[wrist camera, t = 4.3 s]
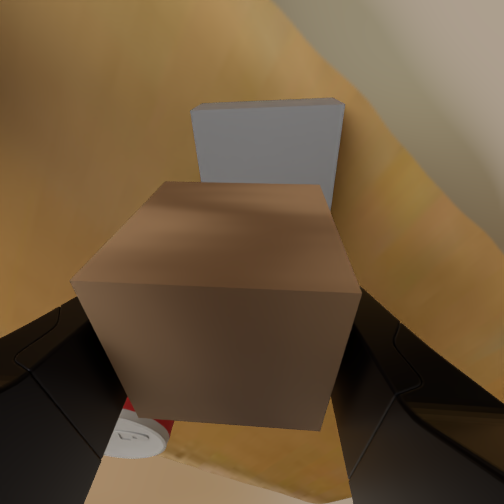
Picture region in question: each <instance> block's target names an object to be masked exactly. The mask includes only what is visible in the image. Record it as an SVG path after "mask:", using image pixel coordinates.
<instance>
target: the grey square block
mask: <svg viewBox="0 0 504 504" xmlns="http://www.w3.org/2000/svg"><path fill="white" fill-rule="evenodd" d="M344 109H345V104H344V103H342V102H340V101H338V100H336V99H334V98H315V99H291V100H268V101H245V102H221V103H202V104H200V105H199V106H197V107H195V108H194V109H192V110H190V113H191V119H192V125H193V132H194V138H195V145H196V151H197V158H198V164H199V171H200V177H201V182H216V183H264V184H313V185H320V187H321V189H322V192H323V194H324V197H325V199H326V202H327V205H328V207H329V210H330V211H331V204H332V196H333V189H334V182H335V174H336V167H337V160H338V152H339V145H340V138H341V130H342V123H343V116H344Z"/></svg>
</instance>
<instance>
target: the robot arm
mask: <svg viewBox="0 0 504 504" xmlns="http://www.w3.org/2000/svg"><path fill="white" fill-rule="evenodd" d="M359 287H360V289H361V292H362V296H361V299H360V302H359V305H358V309H357V312H356V315H355V318H354V322H353V325H352V328H351V331H350V335H349V338H348V341H347V344H346V348H345V351H344V354H343V357H342V361H341V364H340V367H339V371H338V374H337V377H336V380H335V384H334V387H333V390H332V393H331V399H332V404H333V408H334V413H335V418H336V423H337V427H338V432H339V437H340V442H341V446H342V451H343V456H344V461H345V465H346V470H347V475H348V479H350V480H349V485H350V489H351V494H352V499H353V504H504V403H502V402H501V401H499V400H498V399H497V398H495V397H494V396H493V395H492V394H490V393H489V392H488V391H486V390H485V389H484V388H482V387H481V386H480V385H478V384H477V383H476V382H474V381H473V380H472V379H470V378H469V377H468V376H466V375H465V374H464V373H463V372H461V371H460V370H459V369H457V368H456V367H455V366H453V365H452V364H451V363H449V362H448V361H447V360H446V359H444V358H443V357H442V356H440V355H439V354H438V353H437V352H435V351H434V350H433V349H432V348H430V347H429V346H428V345H427V344H425V343H424V342H423V341H422V340H421V339H420V338H418V337H417V336H416V335H415V334H414V333H413V332H411V331H410V330H409V329H408V328H407V327H406V326H405V325H403V324H402V323H400V321H399V320H398V319H397V318H395V317H394V316H393V315H392V314H391V313H390V312H389V311H388V310H386V309H385V308H384V307H383V306H382V305H381V304H380V303H379V302H377V301H376V300H375V299H374V298H373V297H372V296H371V295H370V294H368V293H367V292H366V291H365V290H364V289H363V288H362V287H361V286H359ZM127 397H128V396H127V394H126V392H125V390H124V388H123V386H122V384H121V382H120V380H119V378H118V376H117V374H116V372H115V370H114V368H113V366H112V364H111V362H110V360H109V358H108V356H107V354H106V352H105V350H104V348H103V346H102V344H101V342H100V340H99V338H98V336H97V334H96V332H95V330H94V328H93V326H92V324H91V322H90V320H89V318H88V317H87V315H86V313H85V311H84V309H83V307H82V305H81V303H80V301H79V299H78V297H75V298H73V299H71V300H70V301H68V302H66V303H64V304H63V305H61V307H57V308H55V309H54V310H52V311H50V312H49V313H47V314H45V315H43V316H41V317H40V318H38V319H36V320H34V321H32V322H31V323H29V324H27V325H25V326H23V327H21V328H19V329H17V330H15V331H13V332H11V333H10V334H8V335H6V336H4V337H2V338H0V504H84V502H85V499H86V497H87V494H88V492H89V490H90V487H91V485H92V482H93V480H94V478H95V475H96V472H97V470H98V467H99V465H100V463H101V458H102V457H103V455H104V453H105V450H106V448H107V445H108V443H109V440H110V438H111V436H112V433H113V431H114V428H115V426H116V423H117V421H118V418H119V416H120V414H121V411H122V409H123V406H124V404H125V401H126V399H127Z"/></svg>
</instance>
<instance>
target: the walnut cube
mask: <svg viewBox="0 0 504 504" xmlns="http://www.w3.org/2000/svg"><path fill="white" fill-rule="evenodd" d="M70 283H71V285H72V287H73V289H74V291H75V293H76V295H77V297H78V299H79V301H80V303H81V305H82V307H83V309H84V311H85V313H86V315H87V317H88V318H89V320H90V322H91V324H92V326H93V328H94V330H95V332H96V334H97V336H98V338H99V340H100V342H101V344H102V346H103V348H104V350H105V352H106V354H107V356H108V358H109V360H110V362H111V364H112V366H113V368H114V370H115V372H116V374H117V376H118V378H119V380H120V382H121V384H122V386H123V388H124V390H125V392H126V394H127V396H128V398H129V400H130V402H131V404H132V406H133V408H134V410H135V412H136V414H137V416H138V418H148V419H161V420H175V421H188V422H202V423H215V424H229V425H242V426H256V427H269V428H283V429H297V430H310V431H320V429H321V426H322V423H323V419H324V416H325V413H326V410H327V406H328V403H329V400H330V397H331V393H332V390H333V387H334V384H335V380H336V377H337V374H338V371H339V367H340V364H341V361H342V357H343V354H344V351H345V348H346V344H347V341H348V338H349V335H350V331H351V328H352V325H353V322H354V318H355V315H356V312H357V309H358V305H359V302H360V299H361V296H362V292H361V289H360V287H359V284H358V282H357V279H356V276H355V274H354V271H353V269H352V266H351V264H350V261H349V258H348V256H347V253H346V251H345V248H344V246H343V243H342V240H341V238H340V235H339V233H338V230H337V228H336V225H335V223H334V220H333V217H332V215H331V212H330V210H329V207H328V205H327V202H326V199H325V197H324V194H323V192H322V189H321V187H320V185H313V184H264V183H216V182H167V181H165V182H164V183H163V184H162V185H161V186H160V187H159V188H158V189H157V191H156V192H155V193H154V194H153V195H152V196H151V197H150V198H149V199H148V200H147V201H146V202H145V203H144V204H143V205H142V206H141V207H140V208H139V209H138V210H137V211H136V212H135V213H134V214H133V215H132V216H131V217H130V218H129V219H128V221H127V222H126V223H125V224H124V225H123V226H122V227H121V228H120V229H119V230H118V231H117V232H116V233H115V234H114V235H113V236H112V237H111V238H110V239H109V240H108V241H107V242H106V243H105V244H104V245H103V246H102V247H101V248H100V250H99V251H98V252H97V253H96V254H95V255H94V256H93V257H92V258H91V259H90V260H89V261H88V262H87V263H86V264H85V265H84V266H83V267H82V268H81V269H80V270H79V271H78V272H77V273H76V274H75V275H74V276H73V277H72V278H71V280H70Z"/></svg>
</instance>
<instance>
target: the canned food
mask: <svg viewBox="0 0 504 504" xmlns="http://www.w3.org/2000/svg"><path fill="white" fill-rule="evenodd" d="M173 424H174V420H161V419H148V418H138V416H137V414H136V412H135V410H134V408H133V406H132V404H131V402H130V400H129V398H128V397H127V399H126V401H125V404H124V406H123V409H122V411H121V414H120V416H119V418H118V421H117V423H116V426H115V428H114V431H113V433H112V436H111V438H110V440H109V443H108V445H107V448H106V450H105V453H104V455H106V456H111V457H118V458H131V459H132V458H133V459H134V458H146V457H151V456H155V455H158V454H160V453H162V452H163V451H164V450H165V448H166V446H167V442H168V440H169V438H170V434H171V430H172V427H173Z"/></svg>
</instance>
